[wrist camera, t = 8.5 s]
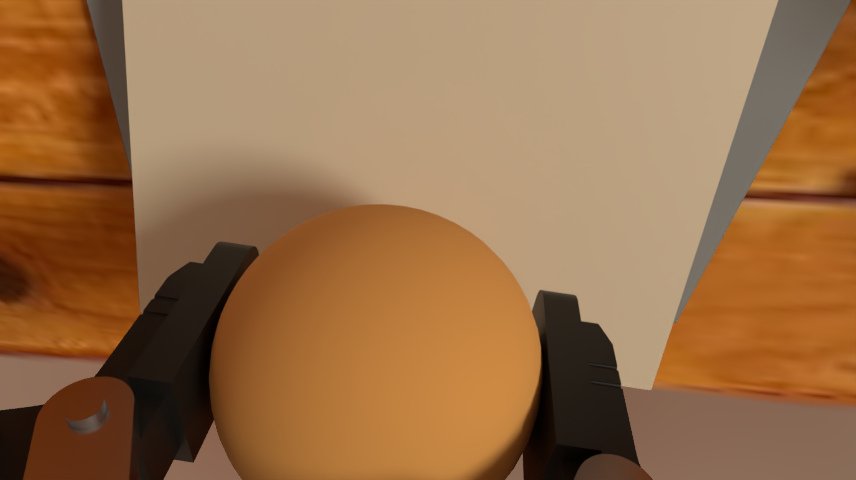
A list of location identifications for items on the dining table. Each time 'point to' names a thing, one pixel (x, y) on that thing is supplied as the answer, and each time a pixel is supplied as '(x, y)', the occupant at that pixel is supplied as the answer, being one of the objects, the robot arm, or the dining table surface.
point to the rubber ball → (376, 354)
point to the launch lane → (464, 130)
